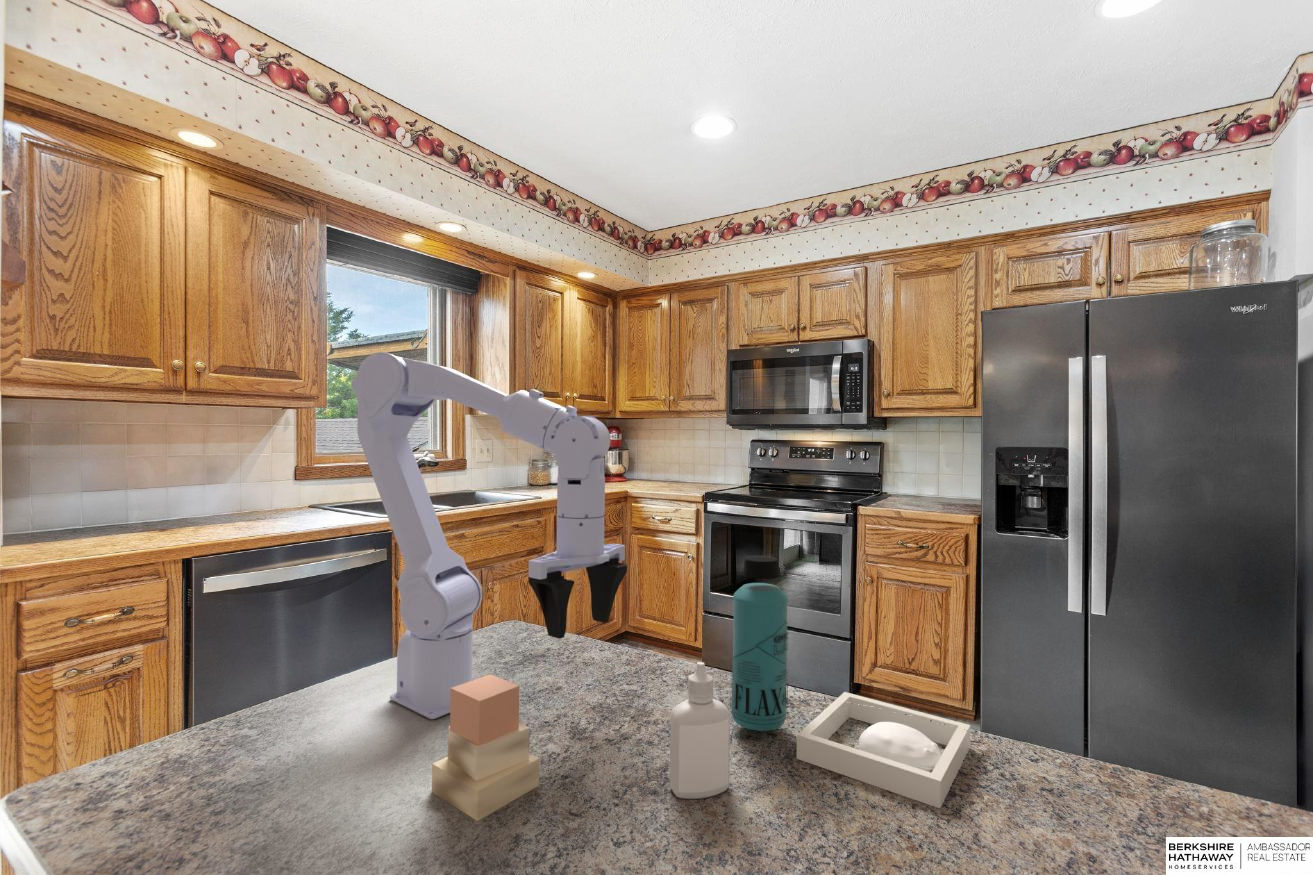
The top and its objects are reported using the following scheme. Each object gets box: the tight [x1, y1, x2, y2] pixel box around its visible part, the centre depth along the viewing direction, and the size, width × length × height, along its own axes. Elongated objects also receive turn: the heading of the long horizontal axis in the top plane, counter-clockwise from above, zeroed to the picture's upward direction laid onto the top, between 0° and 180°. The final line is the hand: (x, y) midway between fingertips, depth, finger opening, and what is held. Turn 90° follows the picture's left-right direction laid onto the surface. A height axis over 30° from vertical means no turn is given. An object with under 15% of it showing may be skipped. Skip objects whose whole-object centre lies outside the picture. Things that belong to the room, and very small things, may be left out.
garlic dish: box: [796, 691, 971, 809], centre depth 66 cm, size 14×14×2 cm
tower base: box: [431, 752, 540, 822], centre depth 58 cm, size 7×7×3 cm
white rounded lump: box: [858, 722, 942, 773], centre depth 63 cm, size 8×7×4 cm
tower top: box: [447, 721, 530, 781], centre depth 59 cm, size 6×6×3 cm
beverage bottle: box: [729, 555, 789, 731], centre depth 70 cm, size 6×7×20 cm
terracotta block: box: [449, 673, 520, 746], centre depth 58 cm, size 4×4×4 cm
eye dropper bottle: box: [668, 661, 731, 800], centre depth 58 cm, size 4×6×12 cm
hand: (579, 628), depth 74 cm, fingers open, 7 cm apart
